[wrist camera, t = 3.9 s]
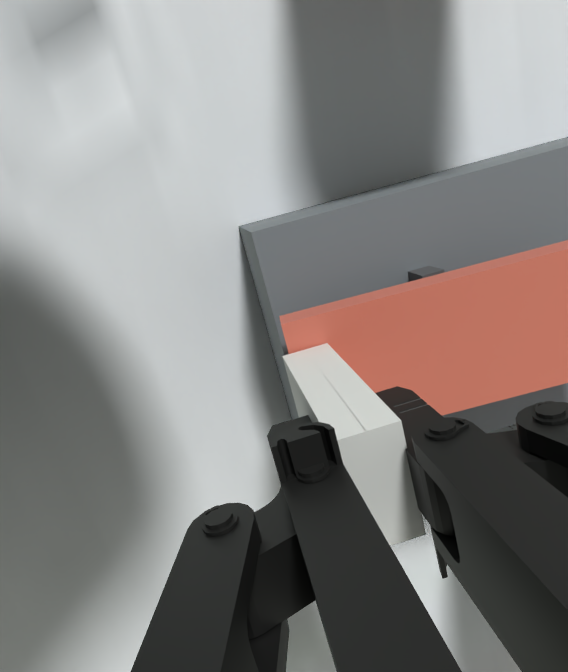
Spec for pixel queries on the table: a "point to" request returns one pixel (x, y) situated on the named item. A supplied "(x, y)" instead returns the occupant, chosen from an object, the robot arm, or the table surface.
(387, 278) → the switch unit
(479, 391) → the rocker
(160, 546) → the table surface
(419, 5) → the table surface
